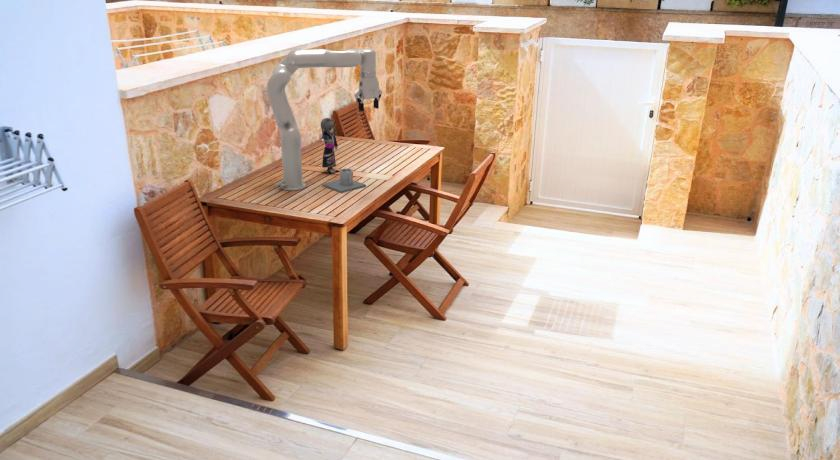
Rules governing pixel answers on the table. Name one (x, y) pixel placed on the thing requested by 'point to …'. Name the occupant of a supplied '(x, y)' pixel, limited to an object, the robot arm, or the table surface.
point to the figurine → (328, 144)
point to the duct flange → (343, 186)
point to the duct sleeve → (346, 176)
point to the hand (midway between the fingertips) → (368, 109)
